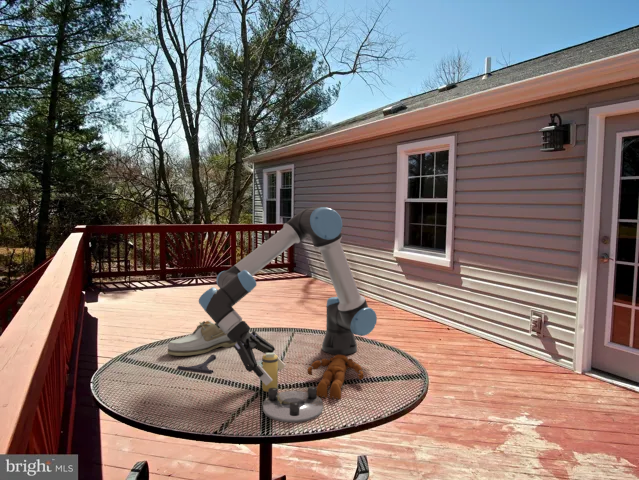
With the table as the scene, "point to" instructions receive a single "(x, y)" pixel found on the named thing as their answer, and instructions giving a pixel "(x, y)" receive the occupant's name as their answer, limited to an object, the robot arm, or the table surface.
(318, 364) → the toy
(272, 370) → the travel mug
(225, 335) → the boat shoe
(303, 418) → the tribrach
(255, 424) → the table surface
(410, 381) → the table surface
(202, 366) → the bracket
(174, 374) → the table surface
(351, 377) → the table surface
